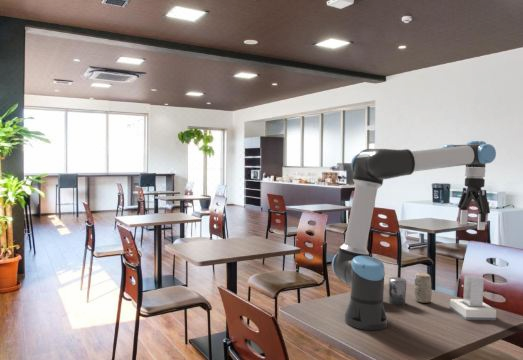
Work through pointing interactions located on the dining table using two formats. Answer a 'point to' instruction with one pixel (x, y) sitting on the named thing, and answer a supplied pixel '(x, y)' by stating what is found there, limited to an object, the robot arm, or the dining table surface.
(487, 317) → the bore block
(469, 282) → the square peg
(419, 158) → the robot arm
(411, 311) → the dining table surface
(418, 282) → the carving
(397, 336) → the dining table surface
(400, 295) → the round bit
